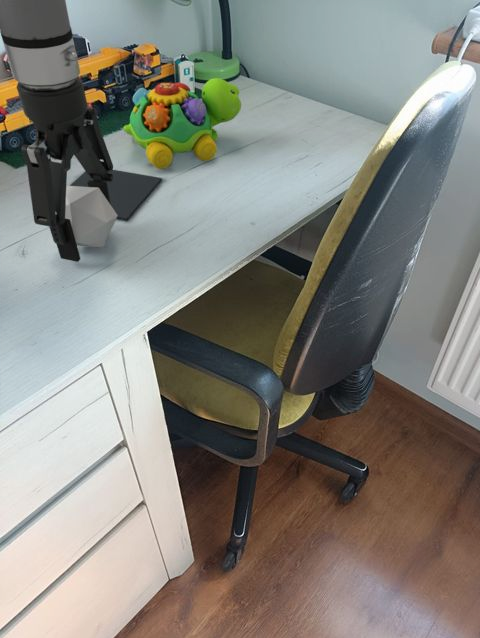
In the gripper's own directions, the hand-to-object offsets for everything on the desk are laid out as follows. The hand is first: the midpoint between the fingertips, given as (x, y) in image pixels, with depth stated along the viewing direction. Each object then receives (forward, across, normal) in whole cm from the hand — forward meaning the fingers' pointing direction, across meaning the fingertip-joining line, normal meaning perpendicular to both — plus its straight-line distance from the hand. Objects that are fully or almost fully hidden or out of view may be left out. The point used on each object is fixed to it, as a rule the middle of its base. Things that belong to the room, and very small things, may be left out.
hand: (88, 239), depth 77 cm
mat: (+1, +15, +5) cm, 16 cm away
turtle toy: (+1, +36, -1) cm, 36 cm away
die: (0, 0, 0) cm, 0 cm away
